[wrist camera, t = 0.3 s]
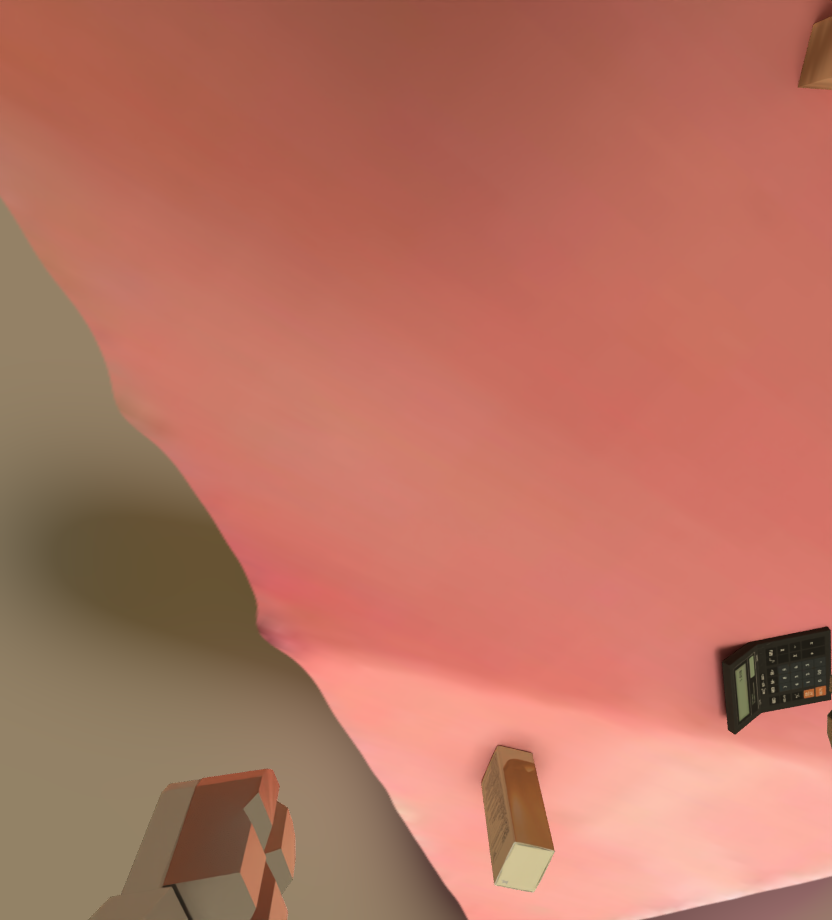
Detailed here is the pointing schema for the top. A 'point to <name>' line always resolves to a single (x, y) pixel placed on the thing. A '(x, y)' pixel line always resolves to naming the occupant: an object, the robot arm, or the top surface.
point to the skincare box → (516, 820)
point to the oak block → (818, 58)
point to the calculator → (777, 675)
